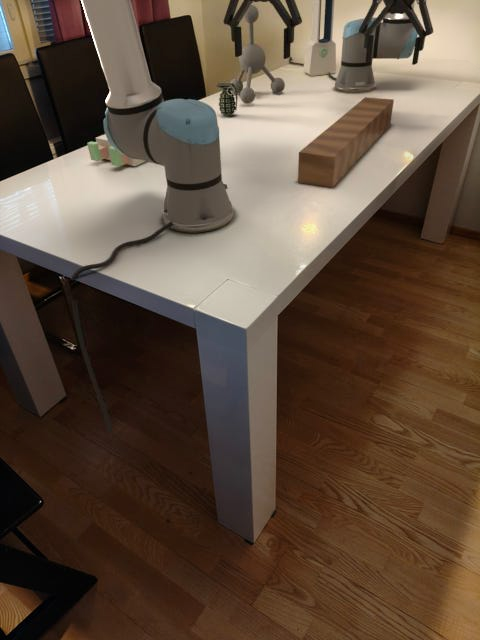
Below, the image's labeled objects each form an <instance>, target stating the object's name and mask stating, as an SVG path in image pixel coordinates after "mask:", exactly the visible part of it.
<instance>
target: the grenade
mask: <svg viewBox="0 0 480 640" xmlns="http://www.w3.org/2000/svg"><path fill="white" fill-rule="evenodd" d="M215 87H217V88H219V89H221V93H219V97H218V101H219V102H218V106H219V108H218V109H219V112H220V114H221V115H222V116H224V117H231V116H233V115H234V113H235V112H236V111H237V108H238V94H237V90H236V87H235V85H234V84H233V83H230V82H218V83H217V84H216V86H215ZM232 90H234V91H235V93H234V92H231V91H232ZM234 94H235V96H234Z"/></svg>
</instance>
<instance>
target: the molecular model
mask: <svg viewBox="0 0 480 640" xmlns="http://www.w3.org/2000/svg"><path fill="white" fill-rule="evenodd" d="M259 14H260V13H259V10H258V7H257V6H256V5H254V4H251V5H250V7H249V8H248V10H247V11H246V13H245V15H244V16H243V19H244V21H245V22H246V23H248V33H249V36H248V37H249V44H246V45H245V46H244V47H242V55H241V56H239V57H238V62H239V66H240V68H241V69H240V72H239V74H238V76H237V77H235V78H232V79H231V80H230V81H229V83H233V84H234V85H235V87H236V90H237V95H238V94H239V93H240V94H239V98H240V100H241V102H242V103H244V104H246V105H249V104H251V103H253V102H254V101H255V98H256V92H255V90H254V89H253V87H251V84H252V75H256V74H258V73H260V72H261V71H263V73H264V74H265V75H266V76H267V77H268V79H269V80H270V81H271V82H270V89H271V91H272V92H273V93H274V94H281V93H282V92H283V91H284V90H285V87H286V83H285V81H284V80H283V78H281V77H274V76H273V74H272V73H271V72H270V70H269V69H268V68H267V67H266V65H265V64H266V60H267V59H266V58H267V57H266V53H265V51H264V49H263V48H262V47H261V46H260V45H258V44H256V43H254V41H255V40H254V38H255V37H254V23H256V22H257V21H258V18H259ZM245 73H247V78H246V83H245V84H246V85H245V87H244V83H243V81H242V78H243V76H244V74H245ZM233 92H234V94H235V91H234V90H232V91H231V93H233Z"/></svg>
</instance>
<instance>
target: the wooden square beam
mask: <svg viewBox="0 0 480 640" xmlns="http://www.w3.org/2000/svg"><path fill="white" fill-rule="evenodd" d="M394 102H395V100H394V99H393V98H392V99H391V98H380V97H379V98H378V97H367V96H365V97H364V98H362V99H361V100H360V101H359V102H358V103H356V104H355V105H354V106H353V107H351V108H350V109H349V110H348V111H347V112H345V113H344V114H343V115H341V116H340V118H338V119H337V120H335V122H333V123H332V124H331V125H330V126H329V127H327V128H326V129H325V130H324V131H323V132H321V133H320V134H319V135H318V136H316V137H315V138H313V140H312V141H311V142H309V143H308V144H307V145H306V146H304V147H303V148H302V149H301V150H300V151H299V152H298V164H297V165H298V167H297V170H298V171H297V183H300V184H306V185H312V186H320V187H325V188H331V189H332V188H334V187H335V186H336V185H337V183H339V181H341V180H342V178H343V177H344V176H345V175H346V174H347V172H349V170H350V169H352V167H353V166H354V165H355V164H357V162H358V161H359V160H360V159H361V157H362V156H363V155H364V154H366V152H367V151H368V150H369V149H370V148H371V147H372V146H373V145H374V143H376V141H377V140H378V139H379V138H380V137H381V136H382V135H383V134H384V133H385V131H386V130H387V129H388V128H389V127H390V126H391V124H392V118H393V117H392V116H393V109H394Z"/></svg>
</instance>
